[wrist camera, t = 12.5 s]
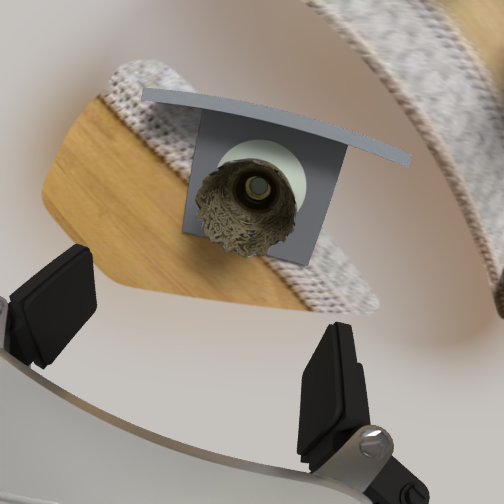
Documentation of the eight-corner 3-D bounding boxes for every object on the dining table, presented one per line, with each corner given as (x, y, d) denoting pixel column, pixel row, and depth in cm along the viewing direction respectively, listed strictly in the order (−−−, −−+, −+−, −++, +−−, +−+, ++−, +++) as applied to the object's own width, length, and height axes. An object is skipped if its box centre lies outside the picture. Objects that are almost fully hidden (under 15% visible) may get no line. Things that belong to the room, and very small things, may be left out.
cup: (248, 234, 30) (232, 273, 23) (206, 175, 28) (175, 197, 21) (311, 198, 28) (316, 228, 20) (269, 133, 25) (258, 139, 18)
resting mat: (349, 137, 25) (350, 137, 24) (307, 263, 31) (307, 266, 31) (206, 101, 25) (204, 101, 25) (183, 229, 32) (181, 231, 31)
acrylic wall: (397, 149, 24) (412, 154, 21) (394, 160, 25) (407, 167, 21) (162, 89, 25) (143, 87, 22) (159, 100, 26) (140, 100, 22)
